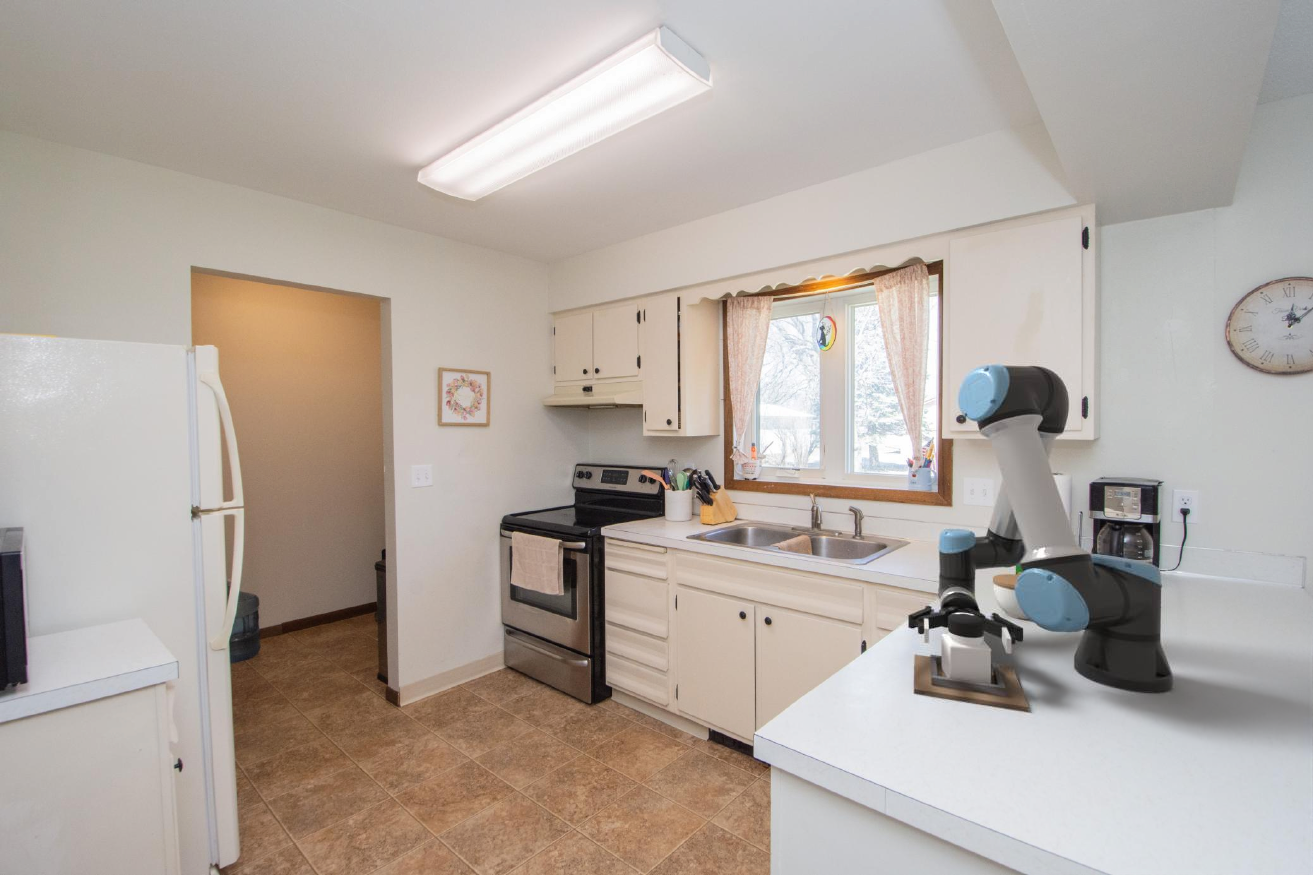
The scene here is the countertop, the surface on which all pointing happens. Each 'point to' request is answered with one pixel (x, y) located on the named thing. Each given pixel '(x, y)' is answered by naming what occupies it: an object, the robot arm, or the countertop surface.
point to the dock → (968, 685)
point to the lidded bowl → (1007, 595)
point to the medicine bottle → (966, 649)
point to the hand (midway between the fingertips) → (966, 640)
